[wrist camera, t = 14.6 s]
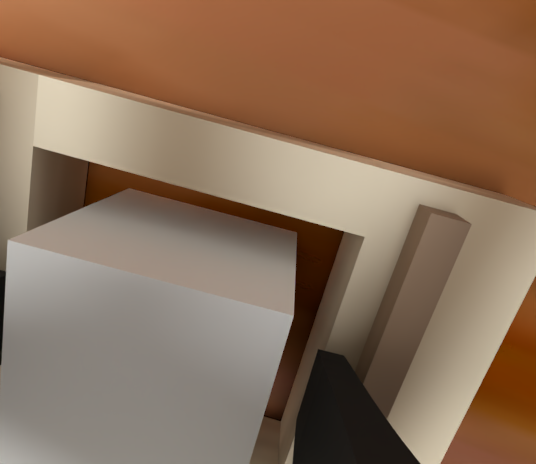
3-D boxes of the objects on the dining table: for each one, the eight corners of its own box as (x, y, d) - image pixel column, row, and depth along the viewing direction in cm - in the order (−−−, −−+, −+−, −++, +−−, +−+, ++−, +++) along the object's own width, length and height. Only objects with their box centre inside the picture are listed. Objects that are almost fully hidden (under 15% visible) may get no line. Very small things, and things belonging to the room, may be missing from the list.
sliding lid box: (505, 195, 11) (591, 229, 7) (312, 621, 16) (315, 747, 13) (-37, 47, 11) (-181, 18, 7) (-48, 521, 16) (-134, 621, 13)
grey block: (297, 231, 11) (293, 315, 7) (256, 373, 13) (230, 525, 8) (130, 187, 11) (7, 239, 7) (108, 334, 13) (-5, 462, 8)
